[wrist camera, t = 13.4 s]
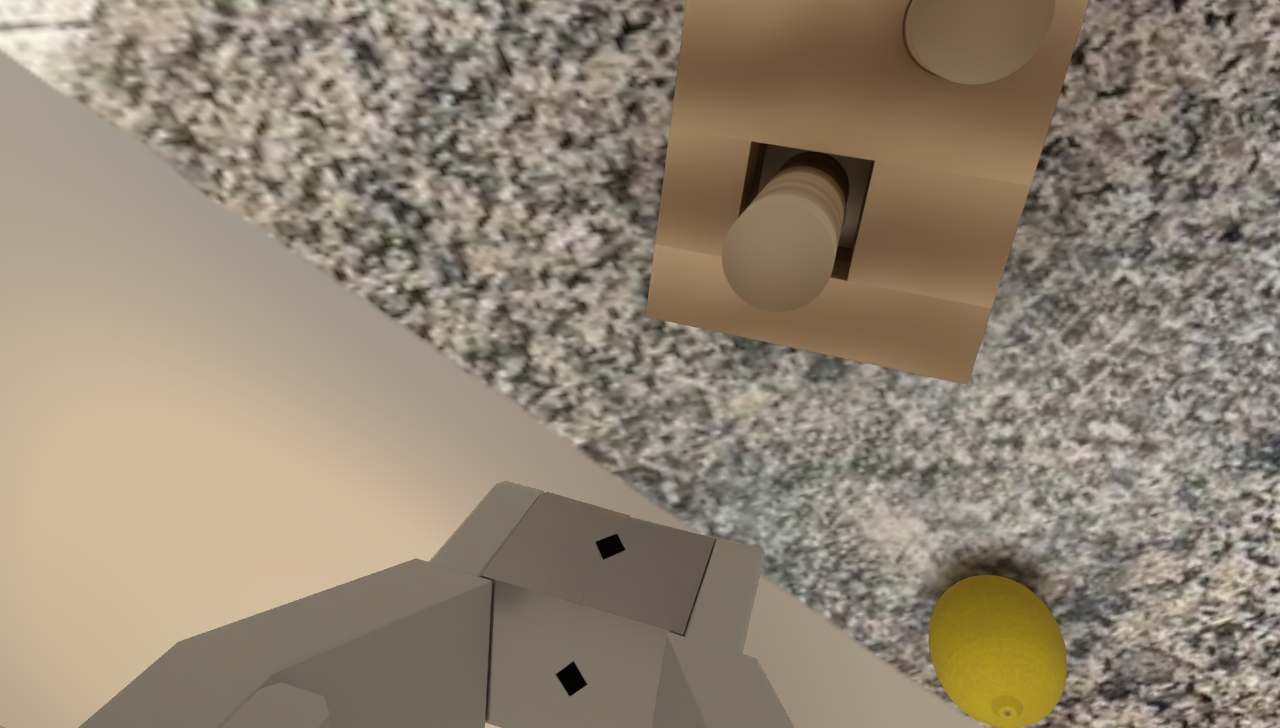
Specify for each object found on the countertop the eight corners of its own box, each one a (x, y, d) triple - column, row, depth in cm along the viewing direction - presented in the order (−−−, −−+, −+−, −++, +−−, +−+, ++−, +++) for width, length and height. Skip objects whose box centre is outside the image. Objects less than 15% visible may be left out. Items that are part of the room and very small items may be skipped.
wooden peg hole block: (735, -68, 31) (638, -144, 19) (1058, -34, 29) (1194, -97, 16) (685, 271, 37) (585, 385, 24) (951, 323, 34) (992, 481, 22)
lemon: (1044, 540, 37) (1083, 659, 30) (1049, 638, 38) (1087, 772, 31) (919, 543, 39) (927, 656, 31) (929, 636, 40) (940, 763, 33)
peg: (779, 144, 32) (728, 191, 21) (858, 156, 31) (847, 210, 20) (766, 221, 33) (712, 302, 22) (841, 233, 32) (823, 323, 22)
